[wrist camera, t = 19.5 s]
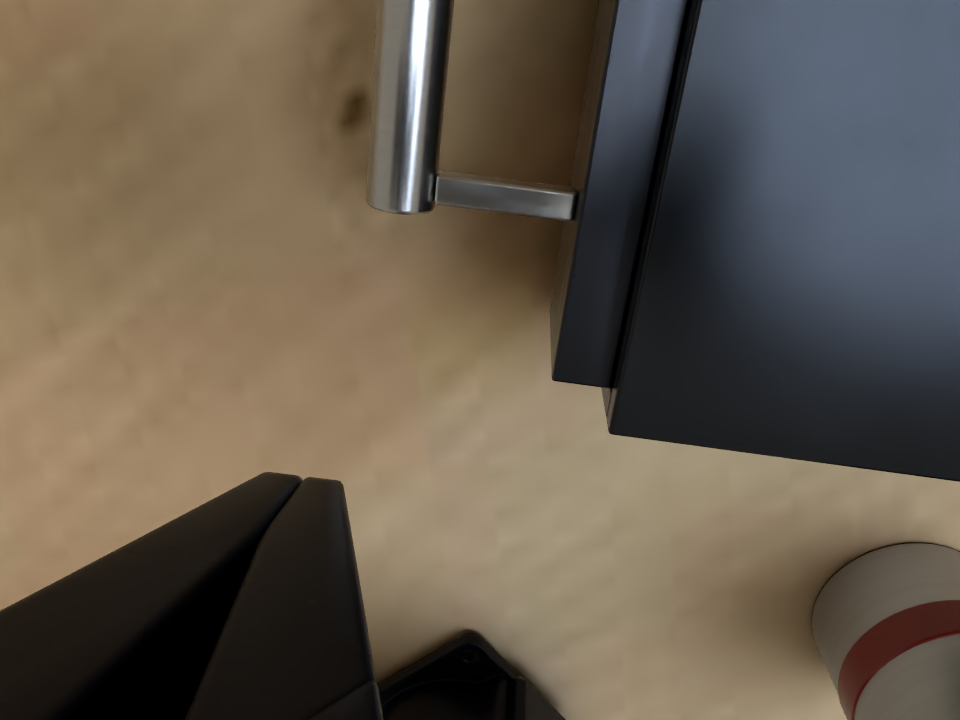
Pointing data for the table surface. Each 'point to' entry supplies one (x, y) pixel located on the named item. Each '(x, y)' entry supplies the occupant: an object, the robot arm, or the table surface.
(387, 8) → the drawer
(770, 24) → the cabinet
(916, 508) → the table surface
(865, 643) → the grey metal cylinder
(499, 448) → the table surface
